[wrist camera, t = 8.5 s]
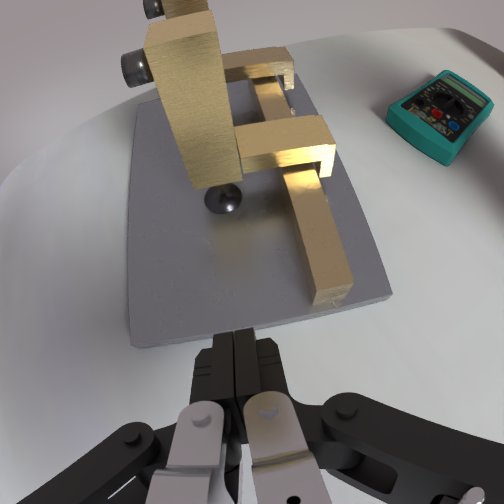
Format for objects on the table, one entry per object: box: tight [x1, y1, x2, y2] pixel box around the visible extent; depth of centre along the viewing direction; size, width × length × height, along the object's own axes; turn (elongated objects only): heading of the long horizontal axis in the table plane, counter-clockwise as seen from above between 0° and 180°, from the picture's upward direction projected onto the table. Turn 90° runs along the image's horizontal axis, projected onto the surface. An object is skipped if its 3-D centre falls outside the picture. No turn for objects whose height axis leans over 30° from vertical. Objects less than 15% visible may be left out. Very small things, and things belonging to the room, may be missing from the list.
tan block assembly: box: [143, 0, 354, 305], centre depth 17 cm, size 10×22×12 cm, turn 10°
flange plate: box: [128, 73, 393, 348], centre depth 23 cm, size 16×23×1 cm
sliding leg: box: [121, 10, 336, 191], centre depth 16 cm, size 10×3×12 cm, turn 100°
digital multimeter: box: [386, 70, 494, 166], centre depth 25 cm, size 7×15×3 cm, turn 131°
